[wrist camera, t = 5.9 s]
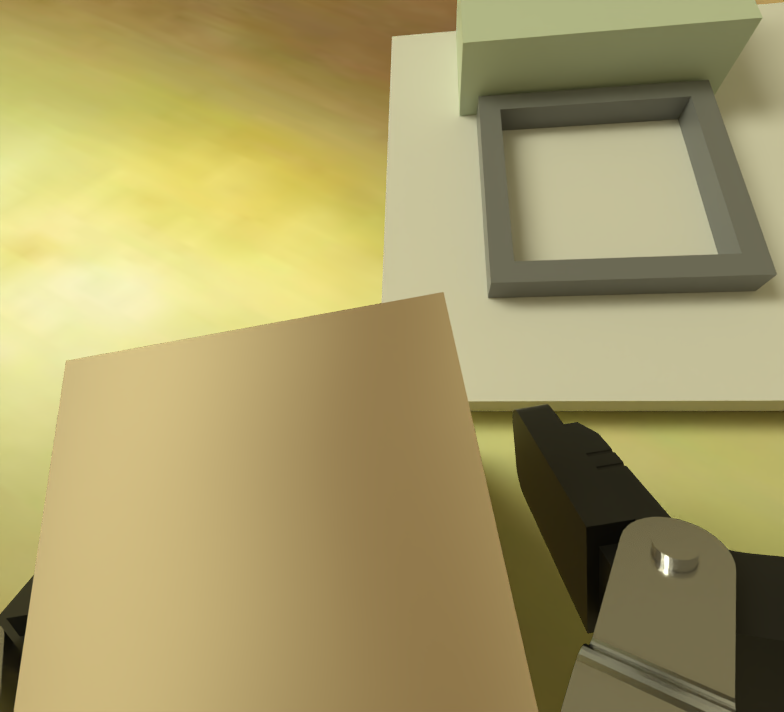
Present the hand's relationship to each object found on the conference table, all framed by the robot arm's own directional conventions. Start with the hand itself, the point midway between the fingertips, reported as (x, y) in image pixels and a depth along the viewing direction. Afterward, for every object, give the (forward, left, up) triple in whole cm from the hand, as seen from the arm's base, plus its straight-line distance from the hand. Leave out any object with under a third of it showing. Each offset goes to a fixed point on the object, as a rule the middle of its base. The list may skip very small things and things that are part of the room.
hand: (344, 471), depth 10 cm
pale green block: (+8, +18, -3) cm, 20 cm away
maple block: (0, -1, -5) cm, 5 cm away
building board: (+10, +12, -5) cm, 16 cm away
